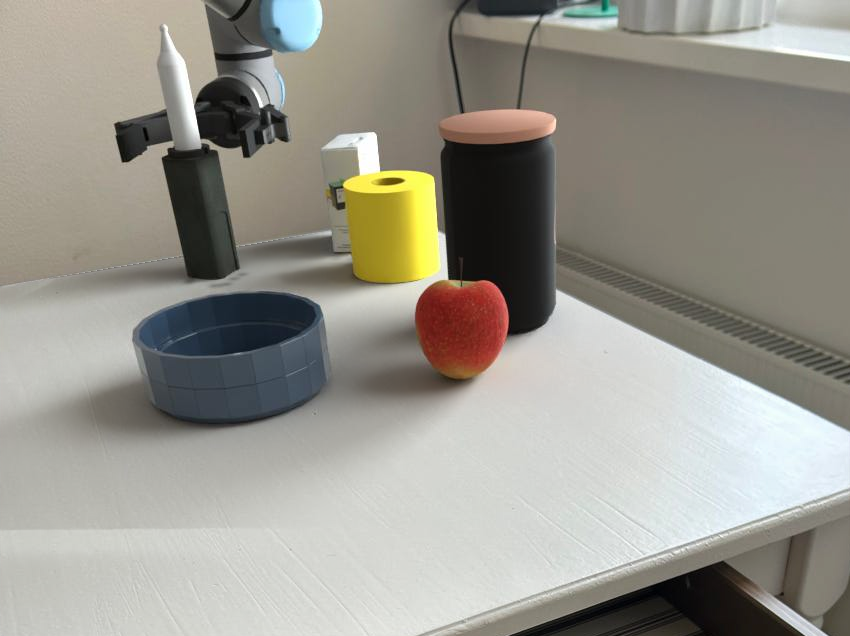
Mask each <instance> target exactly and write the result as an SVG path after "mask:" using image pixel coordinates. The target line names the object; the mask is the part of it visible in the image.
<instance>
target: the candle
mask: <svg viewBox="0 0 850 636" xmlns="http://www.w3.org/2000/svg"><path fill="white" fill-rule="evenodd" d="M158 29H159V31H160V46H159V47H160V50H159V54H158V57H157V60H156V69H157V72H158V77H159V82H160V86H161V91H162V96H163V100H164V105H165V109H166V110H167V115H168V120H169V124H170V129H171V133H172V138H173V141H172V143H173V146H172V147H168V148H167V149H166V151H167V154H166V155H163V156H162V157H160V158H161V164H162V167H163V172H164V176H165V182H166V185H167V190H168V195H169V198H170V202H171V208H172V212H173V216H174V221H175V225H176V230H177V235H178V239H179V243H180V249H181V252H182V256H183V257H182V258H183V261H184V265H185V270H186V275H187V277H188V278H193V279H205V280H221V279H224V278H226V277H227V276H228V275H230V274H232V273H234V272H235V271H238V270H240V269H241V265H240V260H239V254H238V249H237V244H236V238H235V234H234V228H233V223H232V219H231V213H230V208H229V207H230V206H229V203H228V197H227V191H226V187H225V182H224V181H225V180H224V177H223V170H222V167H221V161H220V156H219V152H218V150H217V149H211V146H210V144H208V143H203V142H202V139H201V140H200V135H199V130H198V125H197V120H196V115H195V110H194V105H195V104H194V102H193V101H194V100H193V95H192V90H191V85H190V81H189V76H188V70H187V66H186V62H185V60H184V58H183V57H182V56H181V54H180V53H179V52H178V51H177V49H176V47H175V45H174V43H173V41H172V38H171V37H170V34H169V33H168V32H169V31H168V30H169V27H168V26H167V25H166V23H161V24H160V25H159V28H158Z"/></svg>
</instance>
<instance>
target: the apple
mask: <svg viewBox="0 0 850 636" xmlns="http://www.w3.org/2000/svg"><path fill="white" fill-rule="evenodd" d="M459 261H460V275H461V281H459V280H448V279H440V280H437V281H435V282H433V283H431V284H429V286H427V287H426V288H425V289H424V290H423V291H422V293H421V294H420V296H419V297H418V299H417V302H416V304H415V311H414V326H415V331H416V336H417V339H418V340H417V341H418V343H419V346H420V348H421V351H422V353H423V354H424V356H425V358H426V360H427V361H428V362H429V364H430V365H431V366H432V368H434V369H435V370H436V371H437V372H438V373H440V374H441V375H443V376H445V377H447V378H451V379H455V380H466V379H471V378H474V377H477V376H478V375H481V374H482V373H483V372H485V371H486V370H487V369H488V368H490V366H492V365H493V364H494V362H495V361H496V360H497V358H498V357H499V355H500V353H501V351H502V349H503V347H504V345H505V343H506V339H507V336H508V335H507V331H508V310H507V305H506V302H505V299H504V297H503V295H502V293H501V292H500V290H499V289H498V288H497V286H495V285H494V284H493V283H491V282H489V281H484V280H482V281H477V282H470V281H462V266H463V258H461V257H459Z"/></svg>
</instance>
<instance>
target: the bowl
mask: <svg viewBox="0 0 850 636" xmlns="http://www.w3.org/2000/svg"><path fill="white" fill-rule="evenodd" d="M324 315H325V314H324V312H323V309H322V308H321V305H320V304H318V303H316V302H315V301H314V300H312V299H310V298H308V297H306V296H302V295H298V294H294V293H292V292H291V293H290V292H283V291H273V290H246V291H245V290H243V291H242V290H241V291H240V290H239V291H231V292H230V291H229V292H223V293H222V292H221V293H214V294H209V295H204V296H199V297H196V298H191V299H187V300H182V301H180V302H177V303H174V304H171V305H169V306H166V307H163V308H161V309H158V310H157V311H155V312H153V313H151V314H149V315H148V316H146V317H144V318H142V319H141V321H139V323H137V325H136V326H134V328H133V329H132V334H131V335H132V336H131V337H132V339H131V342H132V346H133V350H134V352H135V356H136V360H137V364H138V367H139V371H140V375H141V379H142V383H143V386H144V389H145V393H146V397H147V400H149V401H150V402H151V403H152V404H153V405H154V406H155V408H157V409H158V410H161V411H163V412H165V413H167V414H169V415H170V416H173V417H175V418H177V419H181V420H183V421H189V422H194V423H201V424H233V423H241V422H250V421H256V420H262V419H264V418H270V417H273V416H277V415H279V414H282V413H286V412H288V411H290V410H293V409H295V408H297V407H299V406H301V405H303V404H305V403H307V402H309V400H311V399H312V398H314V396H316V395H317V393H319V391H320V390H321V388H323V386H325V385H326V384H327V383H328V381H329V378H330V376H331V373H332V371H333V369H332V364H331V358H330V356H331V355H330V351H329V343H328V335H327V329H326V323H325V316H324Z"/></svg>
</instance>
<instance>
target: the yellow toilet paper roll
mask: <svg viewBox="0 0 850 636" xmlns="http://www.w3.org/2000/svg"><path fill="white" fill-rule="evenodd" d="M343 188H344V196H345V204H346V212H347V220H348V229H349V237H350V245H351V252H350V253H351V260H352V261H351V262H352V269H353V274H354V276H355V277H356V278H358V279H360V280H362V281H366V282H369V283H378V284H400V283H407V282H415V281H418V280H422V279H425V278H429V277H431V276H433V275H434V274H436V273H437V272H438V271H439V270H440V269H441V262H440V261H441V260H440V249H439V248H440V247H439V237H438V236H439V232H438V219H437V205H436V202H437V201H436V190H435V189H436V188H435V178H434V176H433V175H432V174H429V173H427V172H422V171H415V170H386V171H385V170H382V171H380V172H374V173H368V174H363V175H359V176H356V177H353V178H350V179H348V180H347V181H345V182H344V184H343Z"/></svg>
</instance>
